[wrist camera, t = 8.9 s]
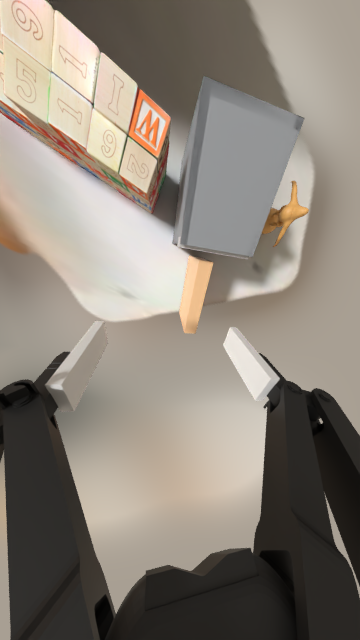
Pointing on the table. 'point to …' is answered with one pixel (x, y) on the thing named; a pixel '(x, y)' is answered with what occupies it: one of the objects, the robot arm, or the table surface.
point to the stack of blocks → (80, 101)
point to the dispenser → (231, 170)
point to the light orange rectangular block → (194, 292)
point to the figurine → (284, 215)
